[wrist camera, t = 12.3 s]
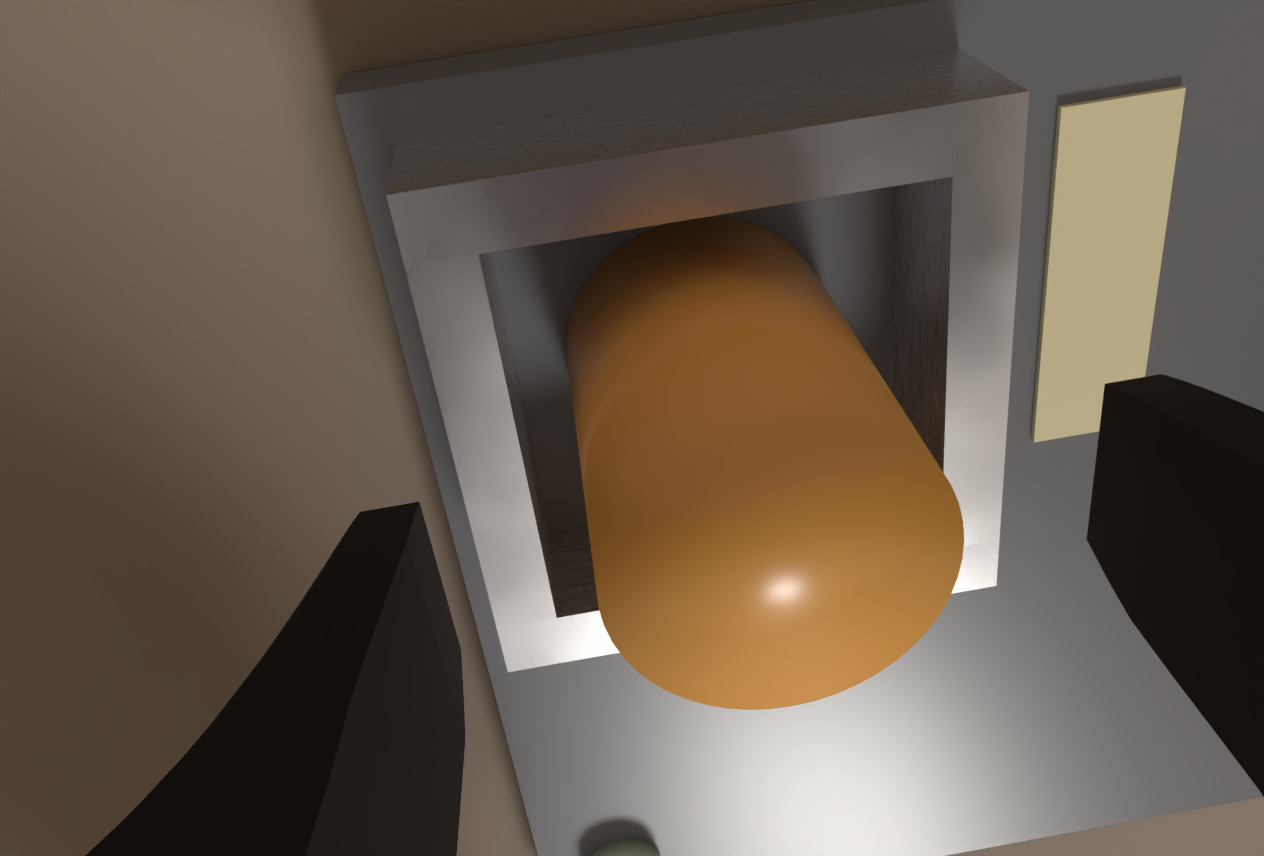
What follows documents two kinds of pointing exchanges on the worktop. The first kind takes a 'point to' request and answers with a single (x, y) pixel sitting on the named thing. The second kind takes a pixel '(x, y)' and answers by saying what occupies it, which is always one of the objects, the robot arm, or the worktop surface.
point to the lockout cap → (748, 474)
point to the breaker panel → (864, 294)
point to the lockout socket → (701, 187)
